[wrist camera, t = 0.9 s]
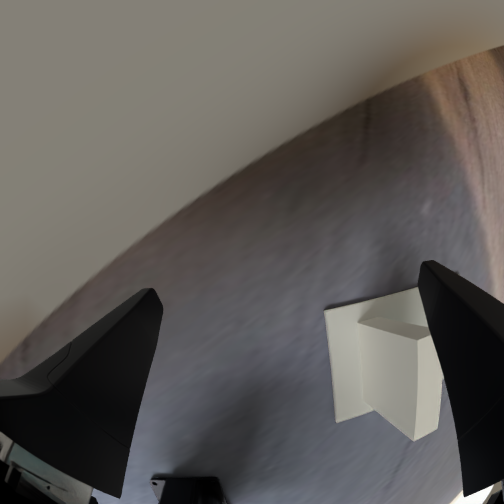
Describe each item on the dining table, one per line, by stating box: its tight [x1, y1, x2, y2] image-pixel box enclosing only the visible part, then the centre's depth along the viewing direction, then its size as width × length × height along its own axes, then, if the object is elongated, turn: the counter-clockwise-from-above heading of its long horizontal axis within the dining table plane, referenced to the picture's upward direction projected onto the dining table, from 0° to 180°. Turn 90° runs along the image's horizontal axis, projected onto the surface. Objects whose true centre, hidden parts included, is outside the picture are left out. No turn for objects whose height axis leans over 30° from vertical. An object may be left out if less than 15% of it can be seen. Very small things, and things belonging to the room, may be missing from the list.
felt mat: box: [324, 274, 460, 423], centre depth 21 cm, size 10×15×1 cm, turn 99°
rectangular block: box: [357, 317, 442, 441], centre depth 16 cm, size 7×2×8 cm, turn 9°
